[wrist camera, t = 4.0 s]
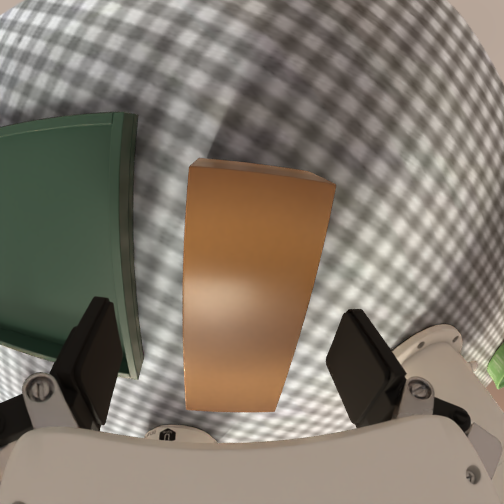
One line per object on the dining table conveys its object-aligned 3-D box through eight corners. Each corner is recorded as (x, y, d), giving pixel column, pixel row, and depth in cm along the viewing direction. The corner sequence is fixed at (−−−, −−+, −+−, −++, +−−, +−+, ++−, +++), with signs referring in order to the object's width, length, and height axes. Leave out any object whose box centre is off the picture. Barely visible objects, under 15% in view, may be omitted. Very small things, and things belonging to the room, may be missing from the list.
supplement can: (131, 431, 24) (116, 546, 10) (180, 413, 23) (176, 556, 9) (182, 457, 27) (182, 558, 14) (233, 442, 26) (245, 558, 12)
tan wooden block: (202, 154, 14) (188, 165, 9) (295, 165, 15) (336, 184, 10) (191, 343, 19) (185, 410, 14) (262, 347, 20) (275, 411, 15)
